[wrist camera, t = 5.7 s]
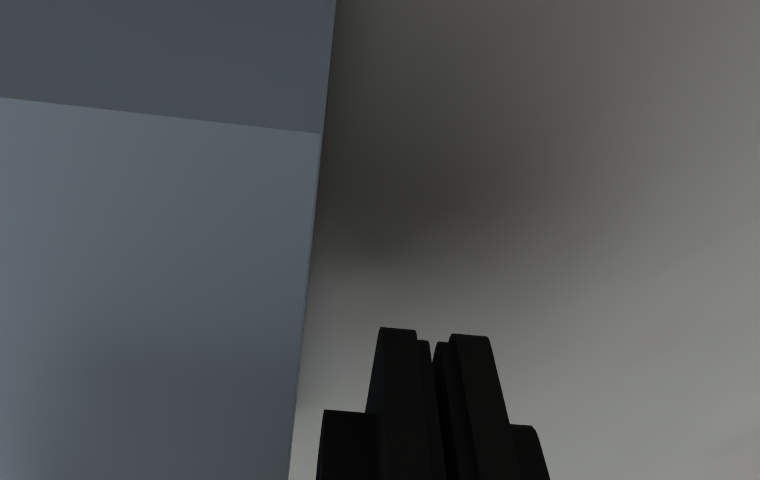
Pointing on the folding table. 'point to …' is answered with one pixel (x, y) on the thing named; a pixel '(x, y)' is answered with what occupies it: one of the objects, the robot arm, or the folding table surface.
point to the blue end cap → (156, 233)
